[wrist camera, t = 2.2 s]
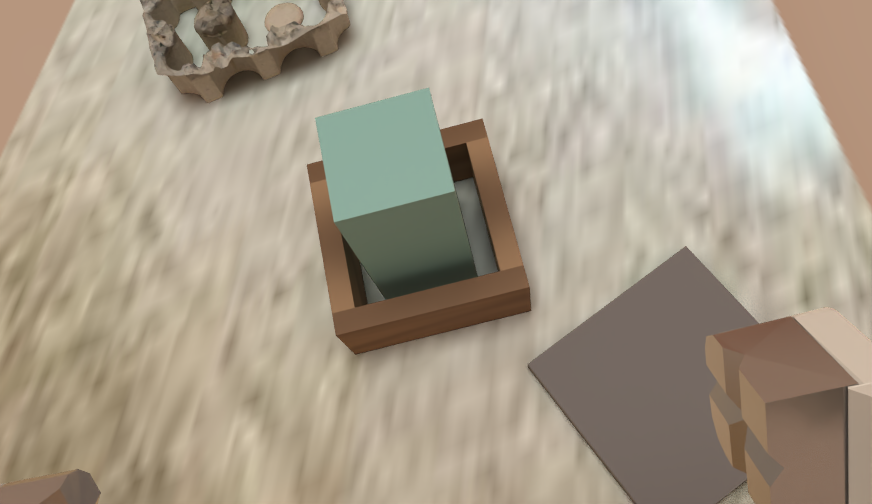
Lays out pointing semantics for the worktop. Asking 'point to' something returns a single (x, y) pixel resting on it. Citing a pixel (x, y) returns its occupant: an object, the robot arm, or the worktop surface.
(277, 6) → the egg carton
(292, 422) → the worktop surface
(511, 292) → the pocket holder
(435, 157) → the teal block
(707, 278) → the rubber mat
